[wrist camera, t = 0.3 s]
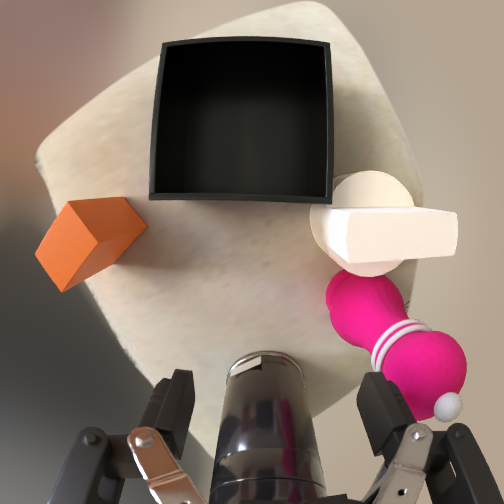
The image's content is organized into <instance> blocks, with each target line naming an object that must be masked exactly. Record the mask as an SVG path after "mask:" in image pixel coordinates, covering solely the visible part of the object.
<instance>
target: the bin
mask: <svg viewBox="0 0 504 504" xmlns="http://www.w3.org/2000/svg"><path fill="white" fill-rule="evenodd" d="M333 170H334V109H333V82H332V65H331V51H330V43H327V42H321V41H313V40H305V39H294V38H282V37H260V36H233V37H211V38H198V39H188V40H180V41H172V42H166V43H162V49H161V54H160V61H159V67H158V74H157V82H156V90H155V98H154V108H153V119H152V131H151V146H150V168H149V193H150V194H149V200H238V201H270V202H293V203H311V204H327V205H332V197H333Z"/></svg>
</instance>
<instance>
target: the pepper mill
mask: <svg viewBox="0 0 504 504" xmlns="http://www.w3.org/2000/svg"><path fill="white" fill-rule="evenodd" d="M326 304H327V306H328V309H329V310H330V318H331V322H332V325H333V327H334V329H335V330H336V331H337V333H338V334H339V335H340V337H341V338H342V339H344V340H345V341H347V342H348V343H350V344H352V345H354V346H357V347H361V348H365V349H366V350H368V351H369V352H370V354H371V355H372V358H371V363H372V367H373V370H374V371H375V372H377V371H381V372H383V374H384V376H385V378H386V380H387V381H388V380H391V381H392V382H393V383H395V384H396V385H397V386H398V387H399V389H400V391H401V393H402V395H403V397H404V399H405V401H406V402H407V404H408V406H409V408H410V410H411V412H412V414H413V416H414V418H415V419H416V421H421V420H425V419H429V418H431V417H433V416H435V417H436V419H438V421H441V422H450V421H452V420H453V419H455V418H456V417H457V416H458V415H459V413H460V412H461V409H462V405H463V403H462V400H461V397H460V396H459V395H458V394H459V392H460V390H461V388H462V386H463V384H464V380H465V376H466V371H467V370H466V369H467V367H466V366H467V363H466V358H465V355H464V352H463V350H462V348H461V347H460V345H459V344H458V343H457V342H456V340H455V339H454V338H452V337H451V336H449V335H448V334H445V333H442V332H439V331H432V330H431V329H430V328H429V327H427V325H426V324H425V323H423V322H422V321H420V320H416V319H409V318H408V316H407V314H406V312H405V308H404V303H403V299H402V296H401V294H400V292H399V290H398V288H397V287H396V286H395V284H394V283H393V282H392V281H391V280H390V279H388V278H387V277H386V276H384V275H379V276H374V277H364V276H358V275H355V274H353V273H350V272H348V271H347V270H345V269H343V270H342V271H340V272H339V273H337V274H336V275H335V276H334V277H333V278H332V280H331V281H330V283H329V285H328V288H327V291H326Z"/></svg>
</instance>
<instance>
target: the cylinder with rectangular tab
mask: <svg viewBox="0 0 504 504" xmlns="http://www.w3.org/2000/svg"><path fill="white" fill-rule="evenodd" d="M309 221H310V227H311V232H312V234H313V236H314V239H315V241H316V242H317V244H318V245H319V246H320V247H321V249H322V250H323V251H324V252H325V253H326V254H328V255H329V256H330V257H331V258H332V259H333V260H334V261H335V262H336V263H337V264H338V265H340V266H341V267H342V268H344V269H345V270H347V271H348V272H350V273H353V274H355V275H358V276H364V277H374V276H379V275H383V274H385V273H387V272H389V271H391V270H393V269H395V268H396V267H397V266H398V265H399V264H400V263H401V262H402V261H403V260H405V259H417V258H428V257H441V256H451V255H454V254H455V251H456V245H457V239H458V219H457V214H456V213H453V212H448V211H441V210H434V209H428V208H421V207H415V205H414V202H413V199H412V197H411V196H410V194H409V192H408V191H407V189H406V188H405V186H403V185H402V184H401V183H400V182H399V181H398V180H397V179H396V178H394V177H392V176H390V175H388V174H386V173H384V172H379V171H373V170H371V171H362V172H356V173H351V174H345V175H340V176H337V177H335V178H333V197H332V205H327V204H311V207H310V216H309Z"/></svg>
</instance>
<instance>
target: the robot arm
mask: <svg viewBox="0 0 504 504" xmlns="http://www.w3.org/2000/svg"><path fill="white" fill-rule="evenodd" d="M226 385H227V386H226V393H225V398H224V404H223V410H222V417H221V423H220V430H219V436H218V442H217V449H216V455H215V462H214V469H213V476H212V482H211V489H210V496H209V501H208V502H207V501H206V500H205V498H204V497H203V496H202V495H201V493H200V492H199V490H198V489H197V487H196V486H195V485H194V483H193V482H192V481H191V479H190V478H189V476H188V475H187V474H186V472H184V471H183V470H182V469H181V467H180V466H179V464H178V463H177V461H176V460H175V459H178V460H181V456H182V453H183V449H184V445H185V440H186V436H187V432H188V428H189V424H190V420H191V416H192V412H193V408H194V404H195V389H194V381H193V373H192V371H189V370H181V369H175V371H174V373H173V376H172V378H171V379H167V378H163V379H162V380H161V381H160V382H159V383H158V384H157V385H156V387H155V389H154V391H153V395H152V396H151V398H150V401H149V403H148V405H147V408H146V410H145V413H144V415H143V417H142V420H141V422H140V424H139V426H138V428H136V429H134V430H133V431H131V432H130V433H129V434H126V435H106V433H105V432H104V431H103V430H101V429H100V428H97V427H87V428H84V429H82V430H81V431H80V432H79V433H78V434H77V436H76V439H75V441H74V443H73V445H72V447H71V449H70V451H69V453H68V456H67V458H66V460H65V462H64V465H63V467H62V469H61V471H60V474H59V476H58V478H57V481H56V483H55V485H54V488H53V490H52V493H51V495H50V498H49V501H48V503H47V504H119V500H120V497H121V493H122V489H123V485H124V482H125V478H145V480H146V482H147V485H148V487H149V489H150V491H151V493H152V494H153V496H154V498H155V500H156V501H157V503H158V504H416V502H417V499H418V497H419V494H420V491H421V489H422V486H423V483H424V480H425V481H426V484H427V487H428V490H429V494H430V497H431V500H432V504H504V501H503V499H502V497H501V494H500V491H499V489H498V486H497V484H496V482H495V479H494V477H493V475H492V473H491V471H490V468H489V466H488V464H487V462H486V460H485V458H484V456H483V454H482V452H481V450H480V448H479V446H478V444H477V442H476V440H475V438H474V437H473V434H472V433H471V431H470V429H469V428H468V427H467V426H466V425H464V424H462V423H454V424H452V425H451V426H450V427H449V428H448V430H447V431H432V430H431V429H430V428H429V427H428V426H427V425H425V424H422V423H417V421H416V419H415V418H414V416H413V414H412V412H411V410H410V408H409V406H408V404H407V402H406V401H405V399H404V397H403V395H402V393H401V391H400V389H399V387H398V386H397V385H396V384H395V383H393V382H392V381H391V380H388V381H387V380H386V378H385V376H384V374H383V372H381V371H377V372H367V373H366V374H365V376H364V378H363V381H362V384H361V386H360V389H359V392H358V394H357V407H358V409H359V412H360V415H361V418H362V421H363V424H364V427H365V430H366V432H367V436H368V438H369V441H370V444H371V447H372V450H373V453H374V456H380V455H383V457H384V459H385V460H384V462H383V464H382V466H381V468H380V470H379V472H378V474H377V476H376V478H375V480H374V482H373V483H372V485H371V487H370V489H369V491H368V492H367V494H366V495H365V496H364V498H363V499H362V500H361V501H358V500H352V499H348V498H347V494H342V495H334V496H327V491H326V486H325V481H324V476H323V471H322V467H321V462H320V457H319V452H318V447H317V442H316V437H315V432H314V427H313V423H312V418H311V413H310V408H309V403H308V399H307V394H306V389H305V384H304V376H303V372H302V370H301V368H300V366H299V365H298V364H297V363H296V362H295V361H294V360H293V359H292V358H290V357H288V356H286V355H284V354H281V353H277V352H269V351H263V352H256V353H252V354H249V355H246V356H244V357H242V358H241V359H239V360H238V361H237V362H235V363H234V364H233V366H232V367H231V368H230V370H229V372H228V375H227V381H226ZM450 462H451V463H452V466H453V468H454V470H455V473H456V477H455V474H454V472H453V470H452V467H451V464H450Z"/></svg>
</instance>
